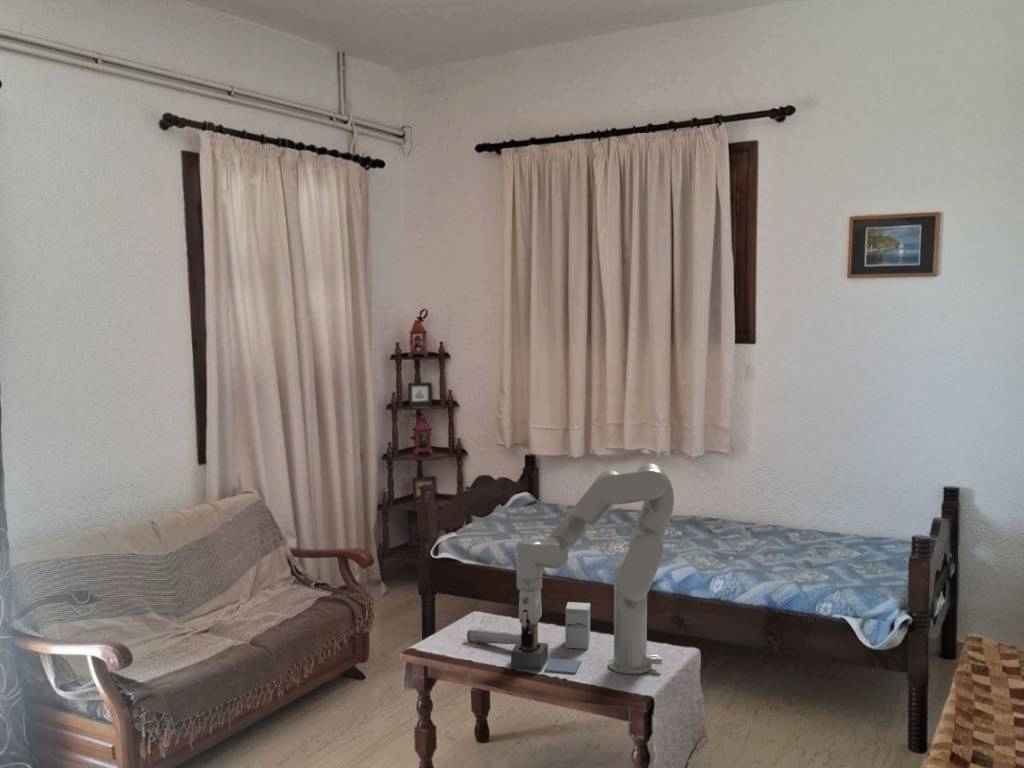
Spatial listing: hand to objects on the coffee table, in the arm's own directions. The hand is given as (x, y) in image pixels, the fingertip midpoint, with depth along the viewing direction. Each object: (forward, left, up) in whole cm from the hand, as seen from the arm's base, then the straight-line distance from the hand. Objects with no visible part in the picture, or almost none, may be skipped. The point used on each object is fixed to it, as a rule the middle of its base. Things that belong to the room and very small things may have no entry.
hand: (529, 641), depth 257 cm
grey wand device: (+11, -11, -7) cm, 17 cm away
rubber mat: (-10, 0, -7) cm, 12 cm away
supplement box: (-11, -19, -7) cm, 23 cm away
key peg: (0, 0, -7) cm, 7 cm away
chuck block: (0, 0, -7) cm, 7 cm away
